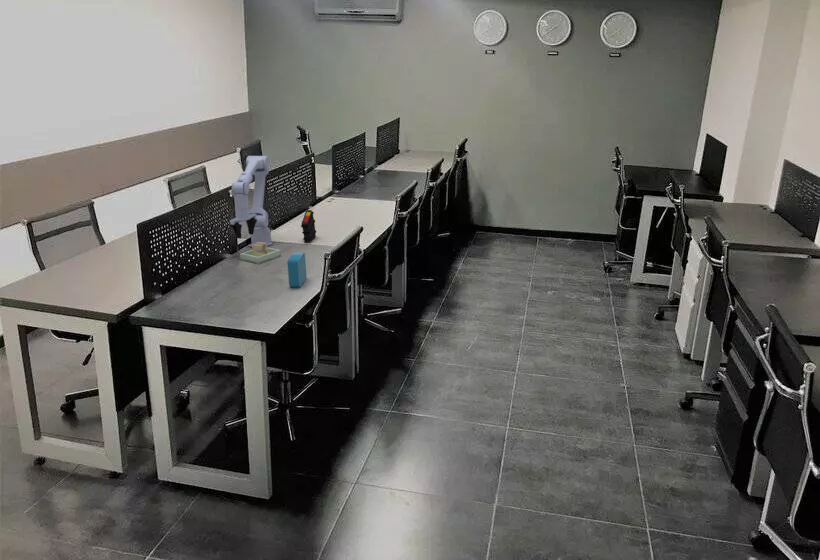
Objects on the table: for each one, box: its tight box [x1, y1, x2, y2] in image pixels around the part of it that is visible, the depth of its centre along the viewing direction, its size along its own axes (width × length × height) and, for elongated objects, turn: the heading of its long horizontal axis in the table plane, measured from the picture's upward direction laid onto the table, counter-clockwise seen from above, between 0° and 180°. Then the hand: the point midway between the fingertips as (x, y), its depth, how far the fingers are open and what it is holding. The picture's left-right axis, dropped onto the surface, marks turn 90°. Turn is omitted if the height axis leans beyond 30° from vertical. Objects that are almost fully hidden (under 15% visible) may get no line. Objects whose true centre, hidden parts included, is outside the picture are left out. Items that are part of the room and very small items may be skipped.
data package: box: [287, 251, 307, 288], centre depth 273 cm, size 12×4×12 cm, turn 175°
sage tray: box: [239, 246, 282, 265], centre depth 308 cm, size 14×12×3 cm
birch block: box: [251, 242, 268, 257], centre depth 308 cm, size 5×5×6 cm
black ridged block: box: [300, 209, 317, 244], centre depth 334 cm, size 4×13×15 cm, turn 172°
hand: (245, 236), depth 310 cm, fingers open, 7 cm apart
